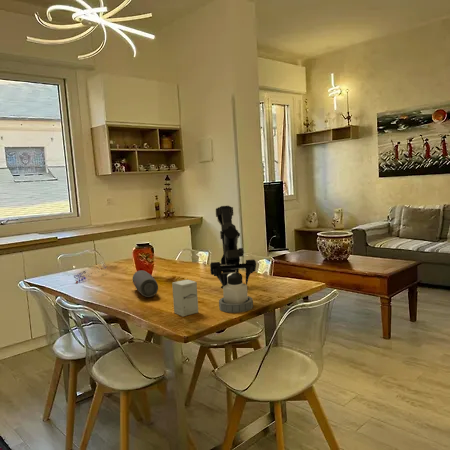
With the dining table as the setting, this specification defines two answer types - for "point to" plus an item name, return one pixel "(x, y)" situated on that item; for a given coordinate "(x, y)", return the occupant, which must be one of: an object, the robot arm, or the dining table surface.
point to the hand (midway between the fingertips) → (235, 284)
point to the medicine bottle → (235, 289)
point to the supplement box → (185, 297)
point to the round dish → (236, 306)
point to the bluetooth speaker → (145, 283)
